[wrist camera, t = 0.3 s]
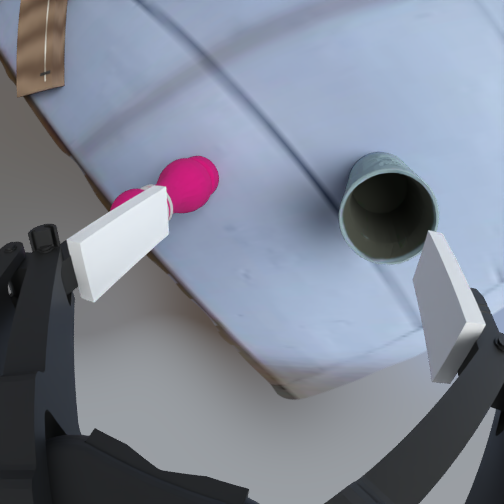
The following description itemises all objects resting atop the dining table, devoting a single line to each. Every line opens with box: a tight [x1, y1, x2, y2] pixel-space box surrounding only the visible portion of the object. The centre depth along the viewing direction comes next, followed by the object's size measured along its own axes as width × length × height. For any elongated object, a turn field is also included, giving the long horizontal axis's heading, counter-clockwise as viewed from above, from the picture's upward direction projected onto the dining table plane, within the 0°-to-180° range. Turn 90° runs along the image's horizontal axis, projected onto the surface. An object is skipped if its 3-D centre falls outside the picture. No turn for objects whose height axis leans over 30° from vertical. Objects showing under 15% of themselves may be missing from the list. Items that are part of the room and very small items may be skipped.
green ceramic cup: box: [339, 152, 439, 265], centre depth 34 cm, size 10×10×12 cm
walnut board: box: [17, 0, 68, 97], centre depth 38 cm, size 24×12×3 cm, turn 178°
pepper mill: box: [110, 156, 219, 222], centre depth 37 cm, size 7×7×20 cm
